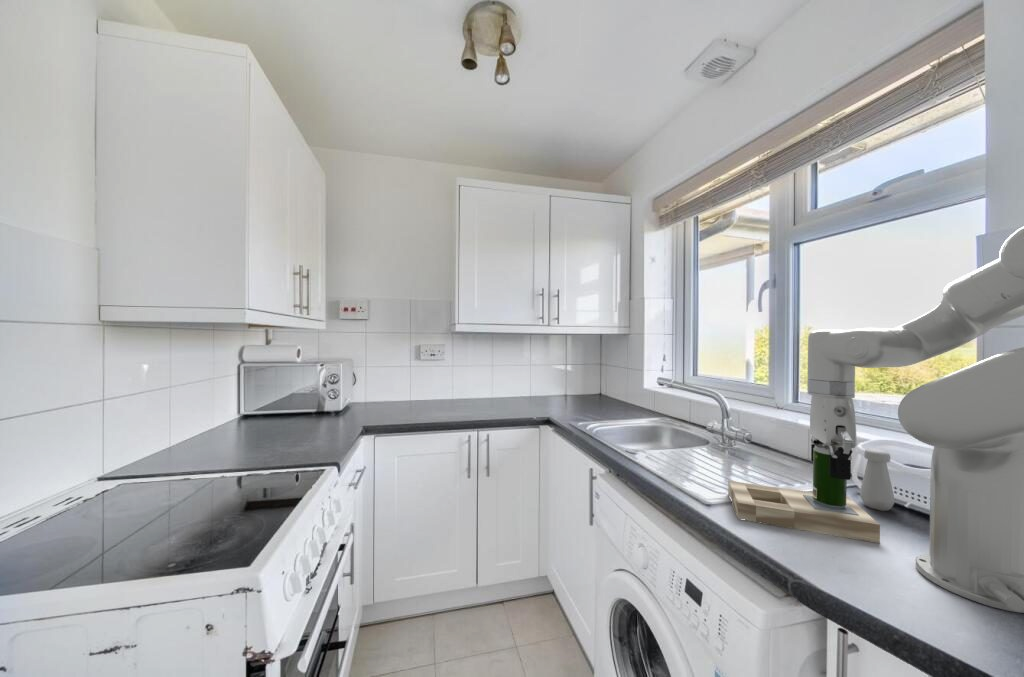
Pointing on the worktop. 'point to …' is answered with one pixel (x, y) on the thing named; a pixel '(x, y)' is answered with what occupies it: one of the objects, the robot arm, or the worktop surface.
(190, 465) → the worktop surface
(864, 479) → the salt shaker
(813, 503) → the can block
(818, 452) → the beer can
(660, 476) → the worktop surface
